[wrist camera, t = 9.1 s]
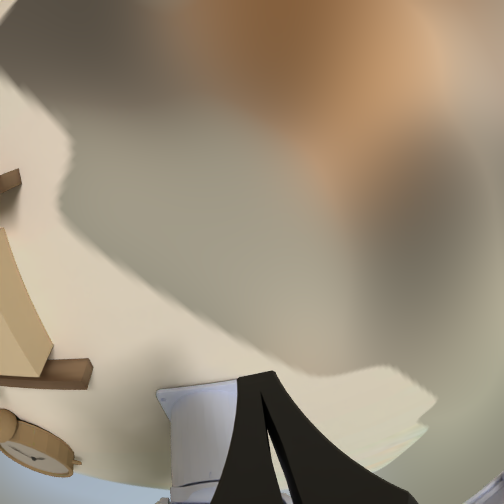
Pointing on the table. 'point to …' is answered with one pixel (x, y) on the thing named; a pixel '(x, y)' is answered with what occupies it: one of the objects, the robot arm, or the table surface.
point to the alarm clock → (35, 447)
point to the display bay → (54, 371)
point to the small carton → (19, 322)
